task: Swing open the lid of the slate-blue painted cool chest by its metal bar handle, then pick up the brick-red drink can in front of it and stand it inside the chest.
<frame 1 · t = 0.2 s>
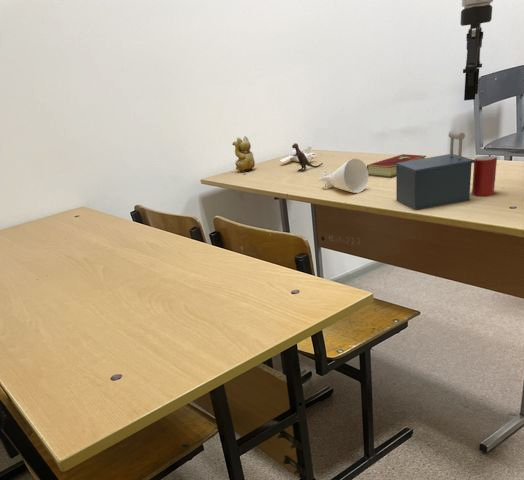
hand: (471, 97, 146), 29 cm above the table, tool pointing down, fingers open, 13 cm apart
hardcover book: (396, 171, 209), on the table
airplane model: (301, 162, 250), on the table
lid: (434, 149, 159), point 15 cm above the table, hinge at 0.0°
rocket engine: (344, 189, 194), on the table
can: (482, 193, 166), on the table
decorative figurine: (247, 171, 249), on the table
dinosaur model: (308, 169, 234), on the table
chest: (431, 200, 166), on the table
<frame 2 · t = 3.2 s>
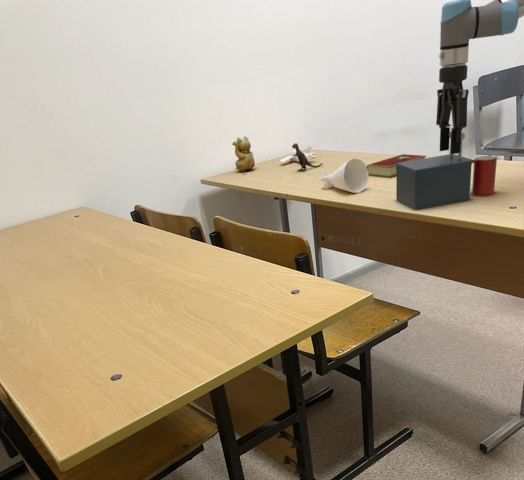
hand: (449, 151, 160), 14 cm above the table, tool pointing down, fingers closed on lid, 6 cm apart
lid: (434, 150, 159), point 15 cm above the table, hinge at -0.2°, touching gripper
everything else where it was.
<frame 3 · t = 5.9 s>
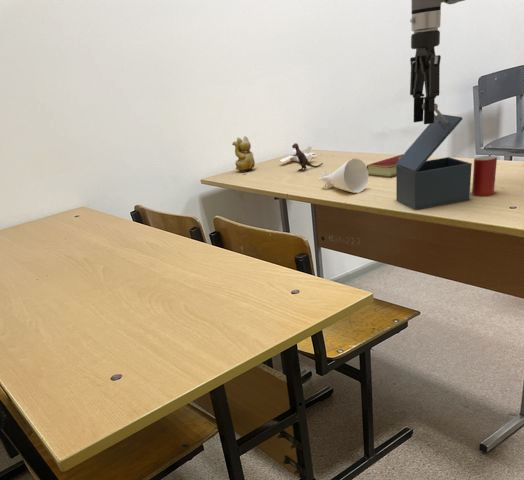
hand: (423, 122, 155), 23 cm above the table, tool pointing down, fingers closed on lid, 6 cm apart
lid: (419, 133, 156), point 20 cm above the table, hinge at 42.4°, touching gripper
everything else where it was.
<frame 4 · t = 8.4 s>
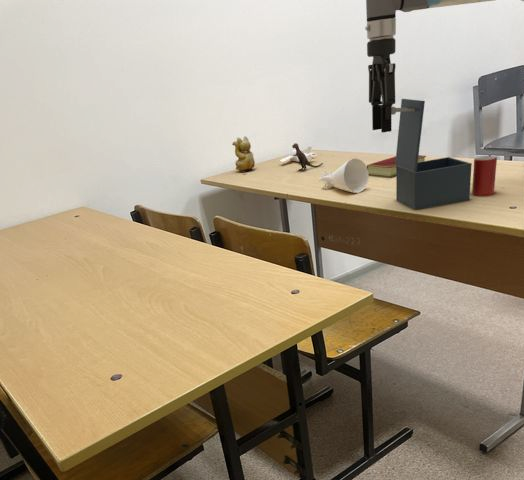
hand: (381, 130, 153), 23 cm above the table, tool pointing down, fingers open, 6 cm apart
lid: (397, 135, 155), point 21 cm above the table, hinge at 83.7°
everything else where it was.
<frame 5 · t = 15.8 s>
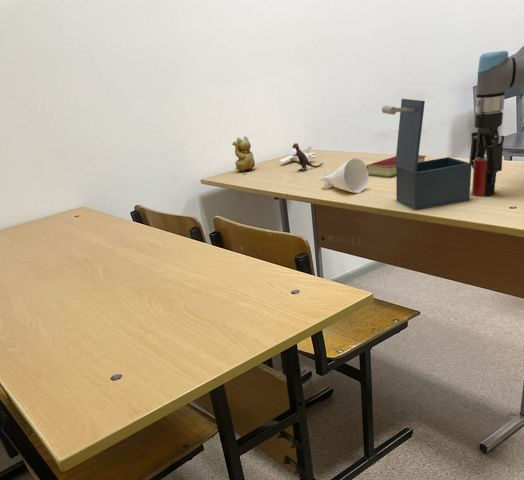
hand: (482, 191, 166), 0 cm above the table, tool pointing down, fingers closed on can, 6 cm apart
can: (482, 193, 166), on the table, touching gripper
everything else where it was.
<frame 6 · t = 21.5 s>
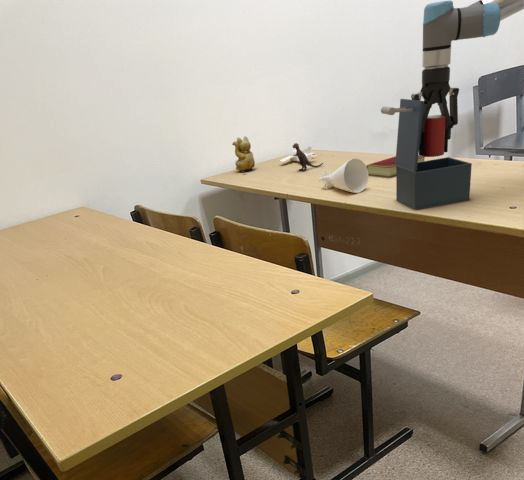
hand: (433, 153, 159), 14 cm above the table, tool pointing down, fingers closed on can, 6 cm apart
lid: (396, 135, 155), point 21 cm above the table, hinge at 84.9°
can: (432, 154, 160), point 14 cm above the table, touching gripper
everything else where it was.
when the fingers open (2 cm above the table, at t = 25.5 s): can stays where it is, resting on chest.
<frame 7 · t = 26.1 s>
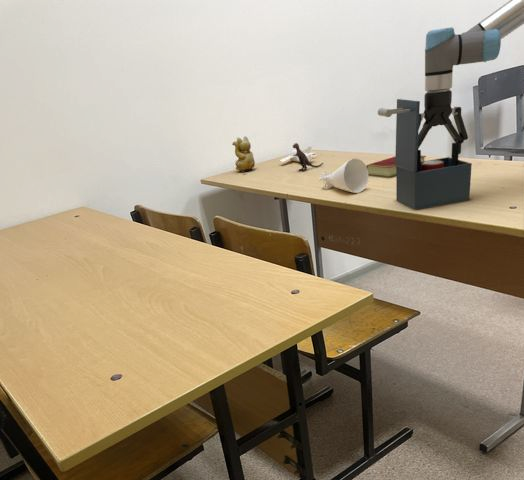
hand: (436, 169, 163), 9 cm above the table, tool pointing down, fingers open, 11 cm apart
lid: (394, 136, 155), point 21 cm above the table, hinge at 88.3°
can: (431, 197, 166), point 1 cm above the table, touching chest
everything else where it was.
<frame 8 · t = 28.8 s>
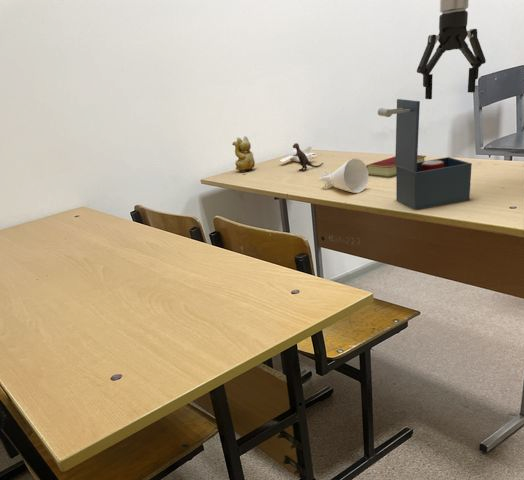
hand: (449, 95, 158), 29 cm above the table, tool pointing down, fingers open, 13 cm apart
nothing on the table moved.
at the end: lid at +88° (first picture: +0°); can inside the target area in the chest (0.1 cm from its centre), point 0.8 cm above the chest's base; can tilted 0° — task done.
